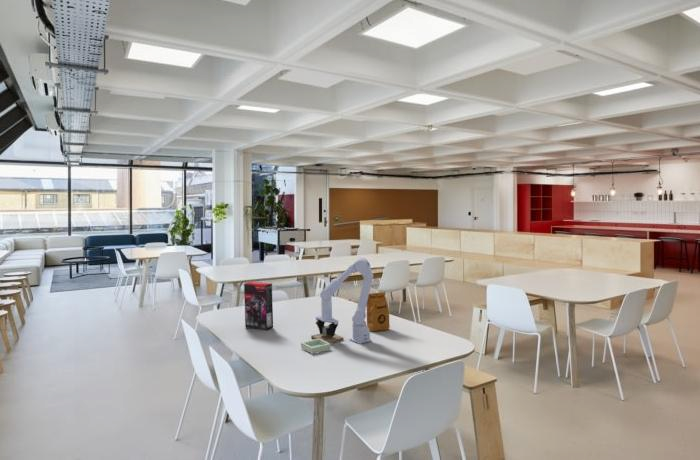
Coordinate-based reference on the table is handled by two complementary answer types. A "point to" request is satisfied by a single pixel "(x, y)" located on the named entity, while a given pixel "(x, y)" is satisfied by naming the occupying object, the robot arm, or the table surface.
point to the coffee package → (377, 312)
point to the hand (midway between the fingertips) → (327, 335)
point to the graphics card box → (258, 305)
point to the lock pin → (326, 332)
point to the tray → (315, 346)
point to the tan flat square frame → (329, 340)
